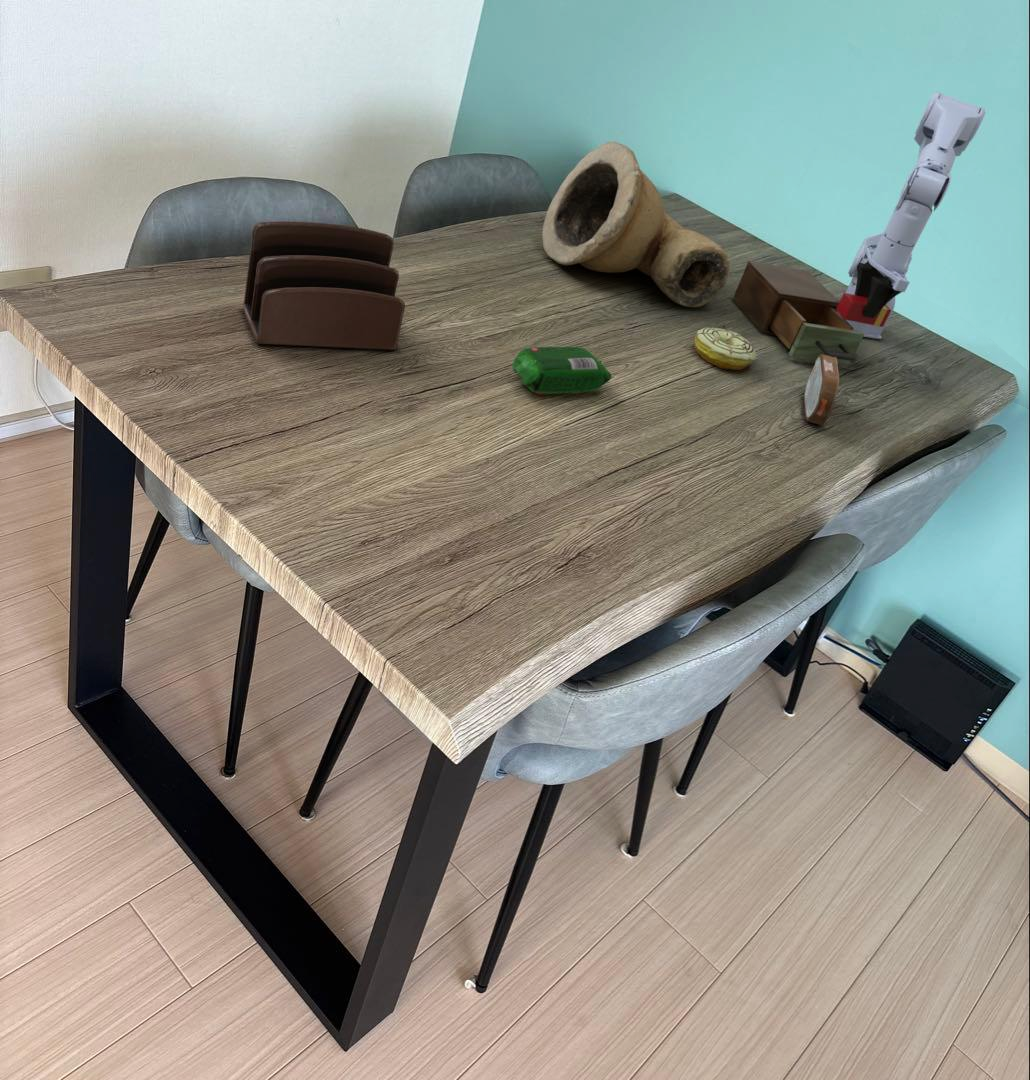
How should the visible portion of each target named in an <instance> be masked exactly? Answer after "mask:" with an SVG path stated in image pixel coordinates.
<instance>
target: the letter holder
mask: <svg viewBox="0 0 1030 1080" xmlns="http://www.w3.org/2000/svg"><path fill="white" fill-rule="evenodd" d="M394 243H395V242H394V239H393V237H392V236H390V235H388V234H386V233H383V232H379V231H375V230H372V229H367V228H363V227H357V226H353V225H352V226H351V225H345V224H337V223H326V222H314V221H313V222H312V221H311V222H310V221H289V220H287V221H286V220H285V221H284V220H283V221H281V220H280V221H262V222H258V223H256V224H255V225H254V226H253V227H252V230H251V238H250V248H249V256H248V264H247V265H248V267H247V272H246V273H247V275H246V281H245V290H244V297H243V303H242V305H243V306H242V307H243V308H242V310H243V312H244V314H245V317H246V319H247V322H248V324H249V327H250V330H251V333H252V335H253V338H254V339H255V342H256V345H272V346H274V345H275V346H291V347H312V348H332V349H333V348H335V349H336V348H337V349H338V348H339V349H357V350H359V349H360V350H377V351H378V350H380V351H396V350H397V349H398V347H399V346H398V345H399V339H400V334H401V330H402V323H403V318H404V314H405V309H406V303H405V301H404V300H403V299H401V298H399V297H398V296H396V294H397V293H396V292H397V287H398V283H399V277H400V273H399V270H398V269H396V268H394V267H391V266H390V263H391V261H392V256H393V250H394V245H395V244H394Z"/></svg>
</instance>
